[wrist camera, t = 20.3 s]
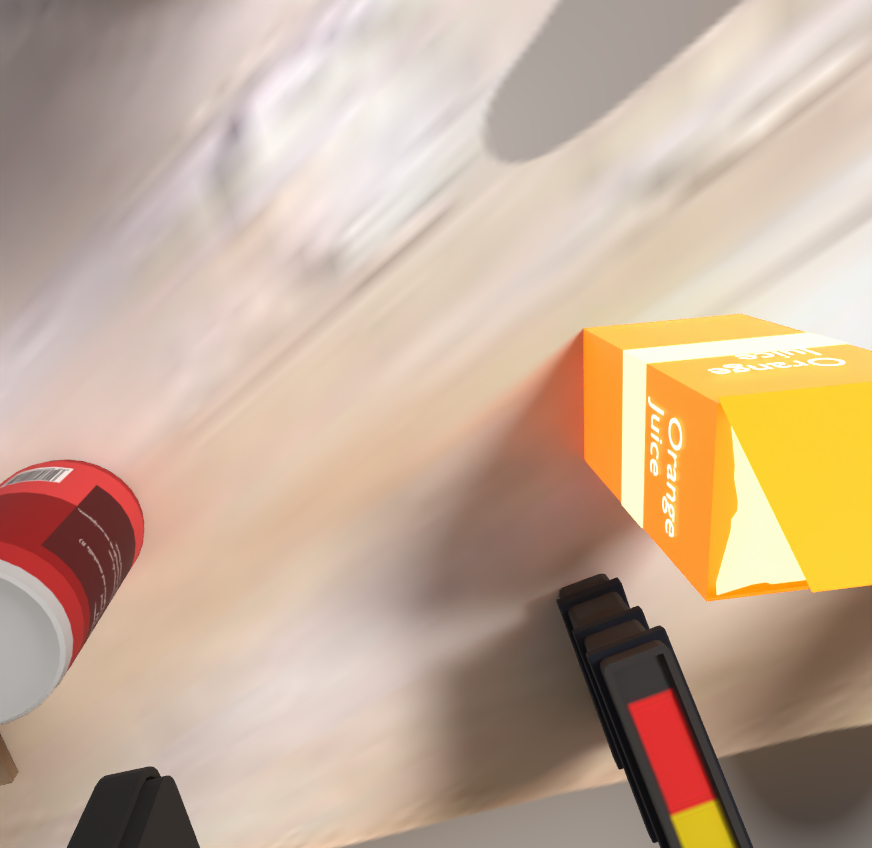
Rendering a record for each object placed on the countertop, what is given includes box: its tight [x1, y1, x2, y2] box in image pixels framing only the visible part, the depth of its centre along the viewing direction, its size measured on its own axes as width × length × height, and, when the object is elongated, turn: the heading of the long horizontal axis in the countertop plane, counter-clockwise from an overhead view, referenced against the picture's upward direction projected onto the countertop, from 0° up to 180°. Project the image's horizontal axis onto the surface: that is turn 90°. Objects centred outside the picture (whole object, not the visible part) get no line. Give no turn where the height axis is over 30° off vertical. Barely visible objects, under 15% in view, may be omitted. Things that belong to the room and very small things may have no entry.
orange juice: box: [584, 314, 872, 601], centre depth 28 cm, size 8×9×20 cm
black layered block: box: [557, 574, 753, 848], centre depth 37 cm, size 4×13×15 cm, turn 20°
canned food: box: [0, 460, 144, 724], centre depth 31 cm, size 8×8×11 cm
